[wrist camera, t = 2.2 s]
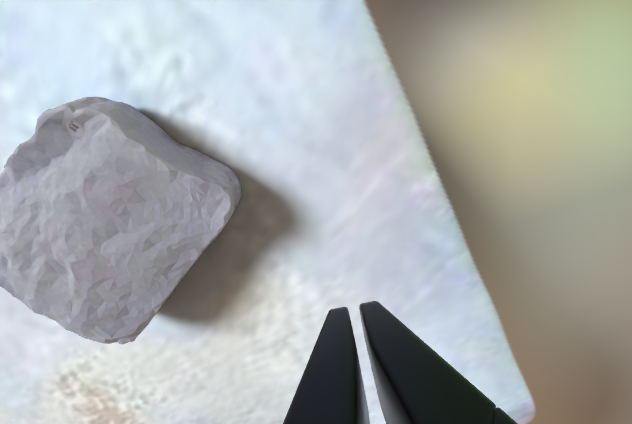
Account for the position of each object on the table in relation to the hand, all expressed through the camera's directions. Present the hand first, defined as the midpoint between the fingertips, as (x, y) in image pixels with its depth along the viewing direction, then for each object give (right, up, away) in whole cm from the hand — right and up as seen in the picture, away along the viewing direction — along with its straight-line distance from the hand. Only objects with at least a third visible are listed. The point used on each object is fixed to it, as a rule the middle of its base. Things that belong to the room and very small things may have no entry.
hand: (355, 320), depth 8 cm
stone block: (-12, +3, +12) cm, 17 cm away
